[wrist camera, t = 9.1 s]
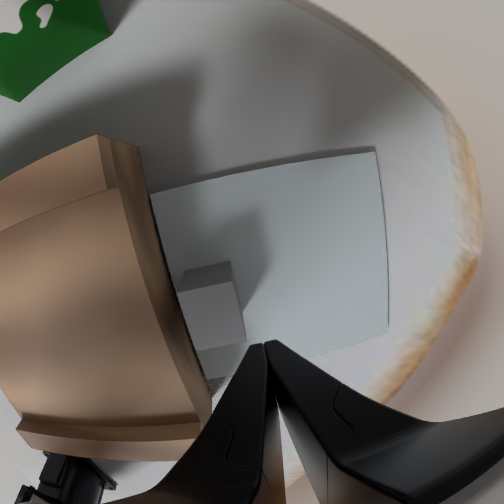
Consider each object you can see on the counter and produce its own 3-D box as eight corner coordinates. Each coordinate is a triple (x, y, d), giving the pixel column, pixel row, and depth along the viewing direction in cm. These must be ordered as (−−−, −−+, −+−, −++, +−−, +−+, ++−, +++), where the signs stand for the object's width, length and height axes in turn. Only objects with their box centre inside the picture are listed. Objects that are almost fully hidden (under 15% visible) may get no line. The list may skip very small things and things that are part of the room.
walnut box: (212, 398, 18) (211, 458, 13) (54, 406, 17) (31, 448, 12) (138, 146, 13) (96, 134, 8) (-26, 218, 13) (-75, 234, 8)
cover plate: (380, 326, 18) (410, 356, 14) (207, 370, 18) (205, 413, 14) (366, 152, 15) (405, 148, 11) (154, 193, 15) (131, 199, 11)
